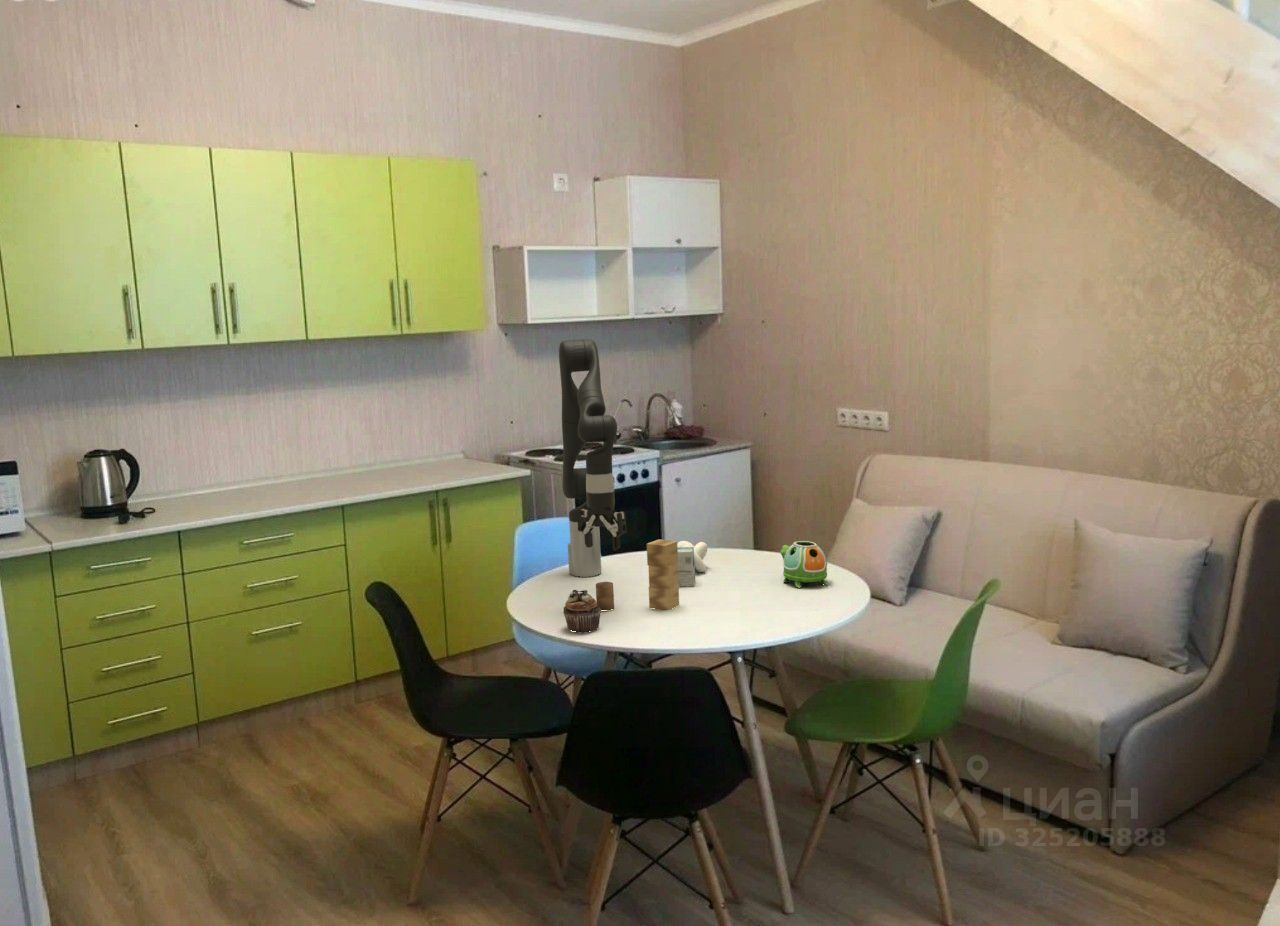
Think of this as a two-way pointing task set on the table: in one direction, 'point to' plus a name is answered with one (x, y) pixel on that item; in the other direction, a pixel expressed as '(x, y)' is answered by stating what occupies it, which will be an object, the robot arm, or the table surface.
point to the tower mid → (663, 577)
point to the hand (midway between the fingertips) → (602, 548)
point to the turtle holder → (804, 563)
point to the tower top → (662, 553)
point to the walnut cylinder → (605, 595)
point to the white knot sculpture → (696, 553)
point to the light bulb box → (686, 566)
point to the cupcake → (581, 612)
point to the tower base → (664, 598)
